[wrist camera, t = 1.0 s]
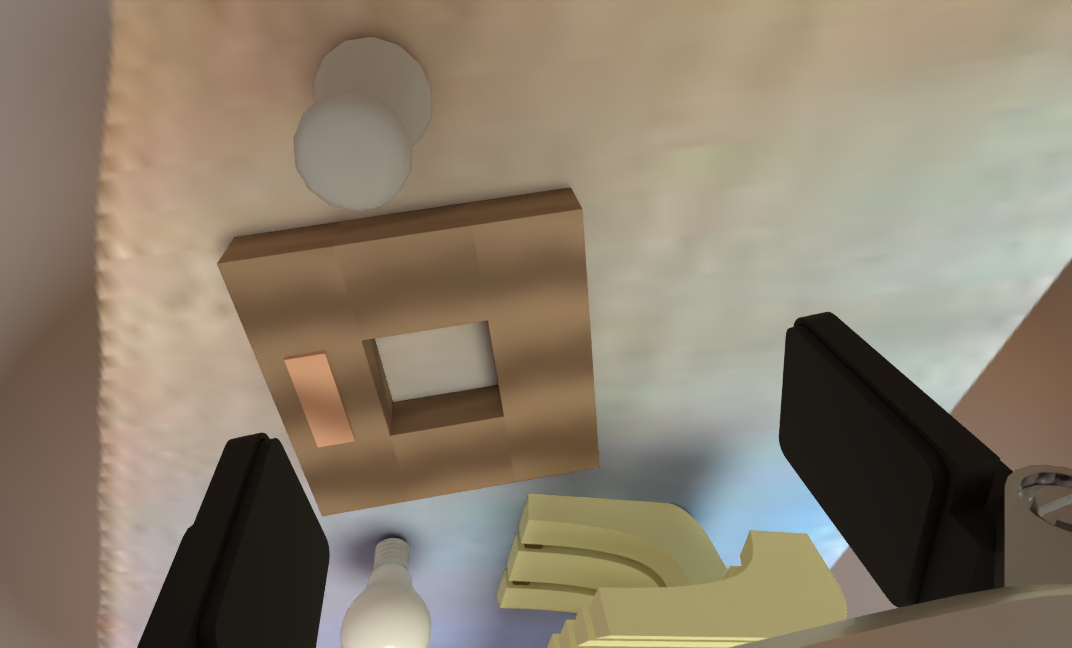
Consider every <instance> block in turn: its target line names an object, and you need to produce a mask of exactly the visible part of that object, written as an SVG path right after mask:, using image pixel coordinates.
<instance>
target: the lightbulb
mask: <svg viewBox="0 0 1072 648" xmlns="http://www.w3.org/2000/svg"><path fill="white" fill-rule="evenodd" d="M408 555H409V546H408V544H407V543H406V542H405V541H403V540H401V539H398V538H388V539H384V540H382V541H380V542H379V543H378V544H377V546H376V548H375V556H374V558H375V559H374V568H373V572H372V573H371V575H370V577H369V579H368V582H367V585H366V588H365V589H364V590H363V591H362V592H361V593H360V595H359V596H358V597H357V598H356V599H355V600H354V601H353V603H352V604H351V605H350V607H349V608H348V610H347V612H346V614H345V616H344V619H343V622H342V626H341V633H340V642H341V648H428V645H429V641H430V637H431V618H430V614H429V611H428V608H427V606H426V604H425V602H424V601H423V599H422V598H421V596H420V595H419V594H418V593H417V592H416V590H415V589H414V588H413V585H412V579H411V576H410V573H409V572H408Z"/></svg>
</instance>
